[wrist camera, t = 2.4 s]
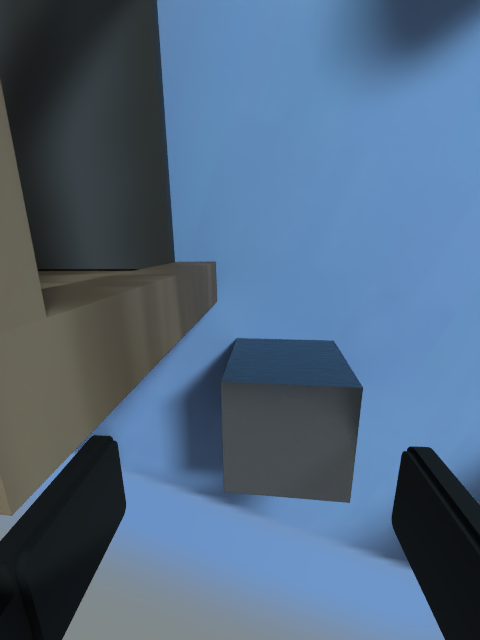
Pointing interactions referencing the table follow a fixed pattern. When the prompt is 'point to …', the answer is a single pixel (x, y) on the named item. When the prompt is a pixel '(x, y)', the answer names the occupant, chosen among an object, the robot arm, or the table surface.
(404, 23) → the table surface
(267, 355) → the block
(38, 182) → the frame
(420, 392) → the table surface
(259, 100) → the table surface
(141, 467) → the table surface
